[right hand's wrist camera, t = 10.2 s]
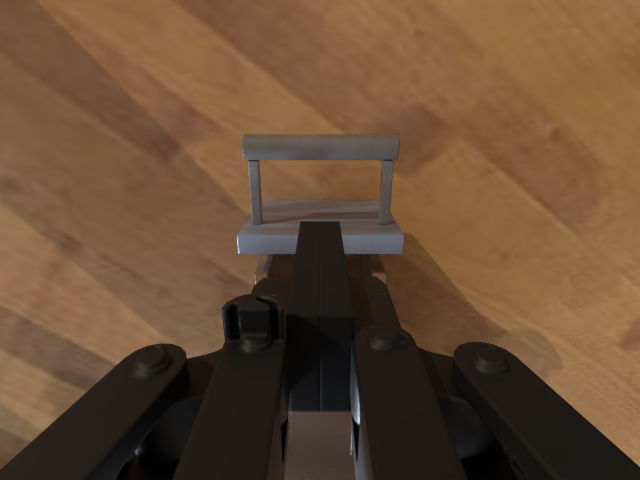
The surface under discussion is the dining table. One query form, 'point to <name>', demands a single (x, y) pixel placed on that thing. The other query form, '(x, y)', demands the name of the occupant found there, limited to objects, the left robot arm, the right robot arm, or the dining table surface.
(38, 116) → the dining table surface
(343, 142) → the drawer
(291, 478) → the cabinet
